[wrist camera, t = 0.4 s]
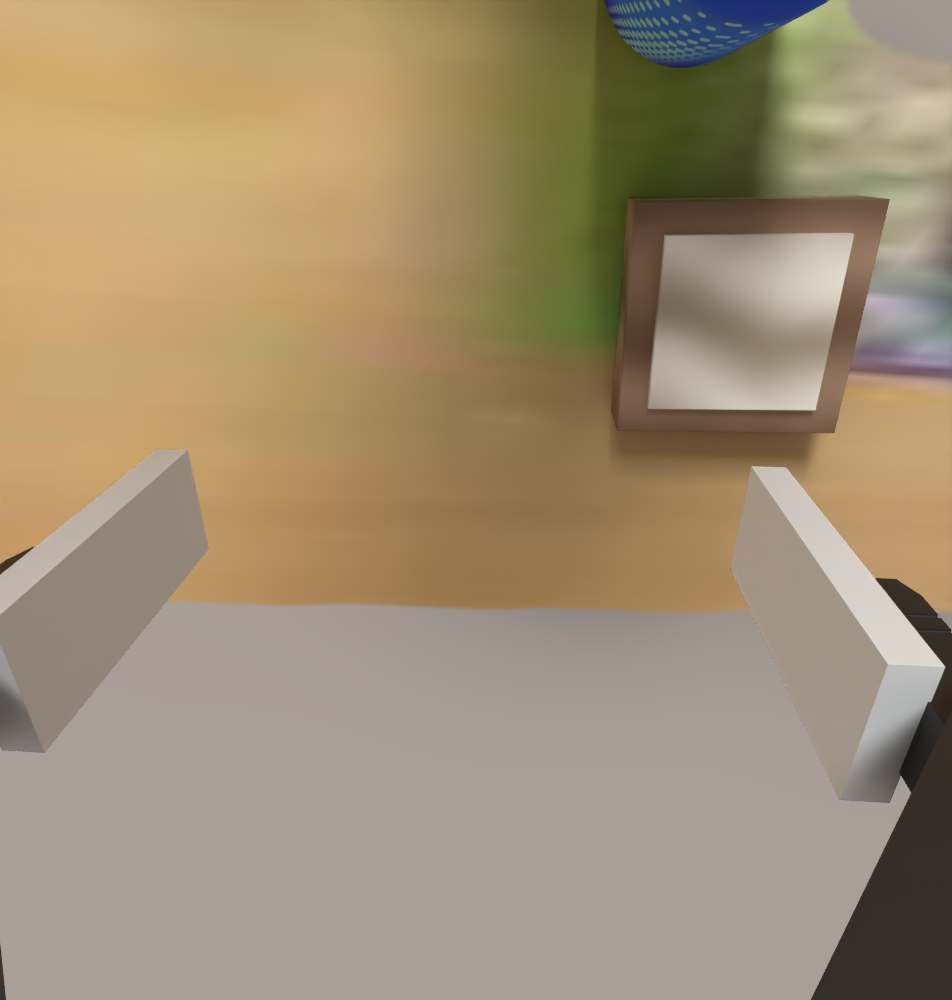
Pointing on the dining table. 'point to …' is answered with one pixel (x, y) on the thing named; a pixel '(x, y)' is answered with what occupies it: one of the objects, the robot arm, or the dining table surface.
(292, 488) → the dining table surface
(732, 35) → the beer can
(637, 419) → the base slab
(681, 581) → the dining table surface
